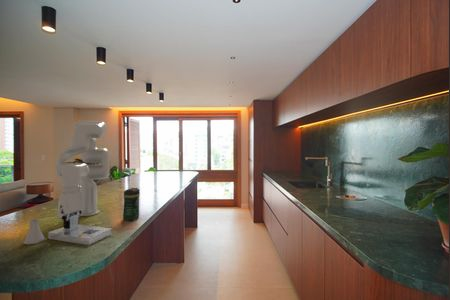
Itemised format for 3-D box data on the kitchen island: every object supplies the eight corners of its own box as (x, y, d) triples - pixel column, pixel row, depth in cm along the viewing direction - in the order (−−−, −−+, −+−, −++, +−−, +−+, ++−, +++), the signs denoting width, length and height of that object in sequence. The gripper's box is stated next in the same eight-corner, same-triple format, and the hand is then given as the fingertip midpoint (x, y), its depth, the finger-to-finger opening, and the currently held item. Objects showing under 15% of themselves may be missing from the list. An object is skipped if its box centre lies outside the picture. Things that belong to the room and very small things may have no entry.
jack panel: (48, 238, 108) (48, 230, 108) (73, 229, 120) (73, 222, 120) (88, 245, 101) (89, 237, 101) (111, 234, 113) (111, 227, 113)
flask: (31, 238, 107) (31, 217, 107) (48, 238, 108) (48, 217, 108) (19, 245, 100) (19, 222, 100) (36, 244, 101) (37, 222, 101)
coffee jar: (134, 221, 134) (134, 189, 134) (121, 221, 134) (121, 189, 134) (141, 216, 144) (141, 187, 143) (129, 216, 144) (129, 186, 144)
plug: (64, 234, 111) (64, 209, 111) (71, 231, 115) (71, 207, 115) (71, 235, 110) (71, 210, 109) (78, 232, 113) (79, 208, 113)
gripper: (80, 186, 121) (80, 220, 121) (48, 192, 105) (48, 231, 105) (91, 187, 119) (91, 222, 119) (60, 193, 103) (60, 233, 103)
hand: (71, 226), depth 112 cm, fingers closed on plug, 3 cm apart
